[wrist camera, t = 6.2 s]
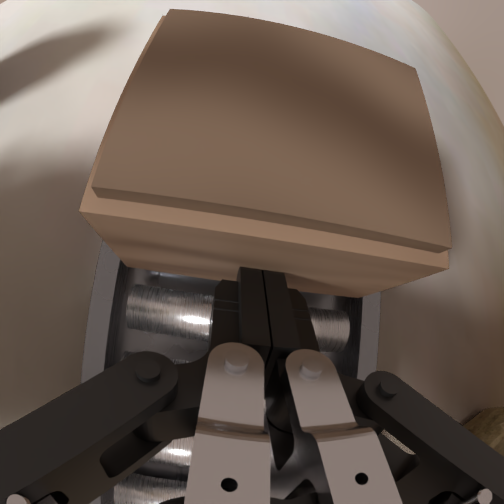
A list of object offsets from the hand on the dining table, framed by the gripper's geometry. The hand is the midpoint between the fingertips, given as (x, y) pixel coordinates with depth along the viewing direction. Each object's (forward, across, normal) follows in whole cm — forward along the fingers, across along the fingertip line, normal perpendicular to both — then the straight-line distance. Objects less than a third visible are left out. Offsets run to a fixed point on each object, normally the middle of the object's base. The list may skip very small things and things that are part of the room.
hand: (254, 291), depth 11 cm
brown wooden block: (+5, 0, -2) cm, 5 cm away
